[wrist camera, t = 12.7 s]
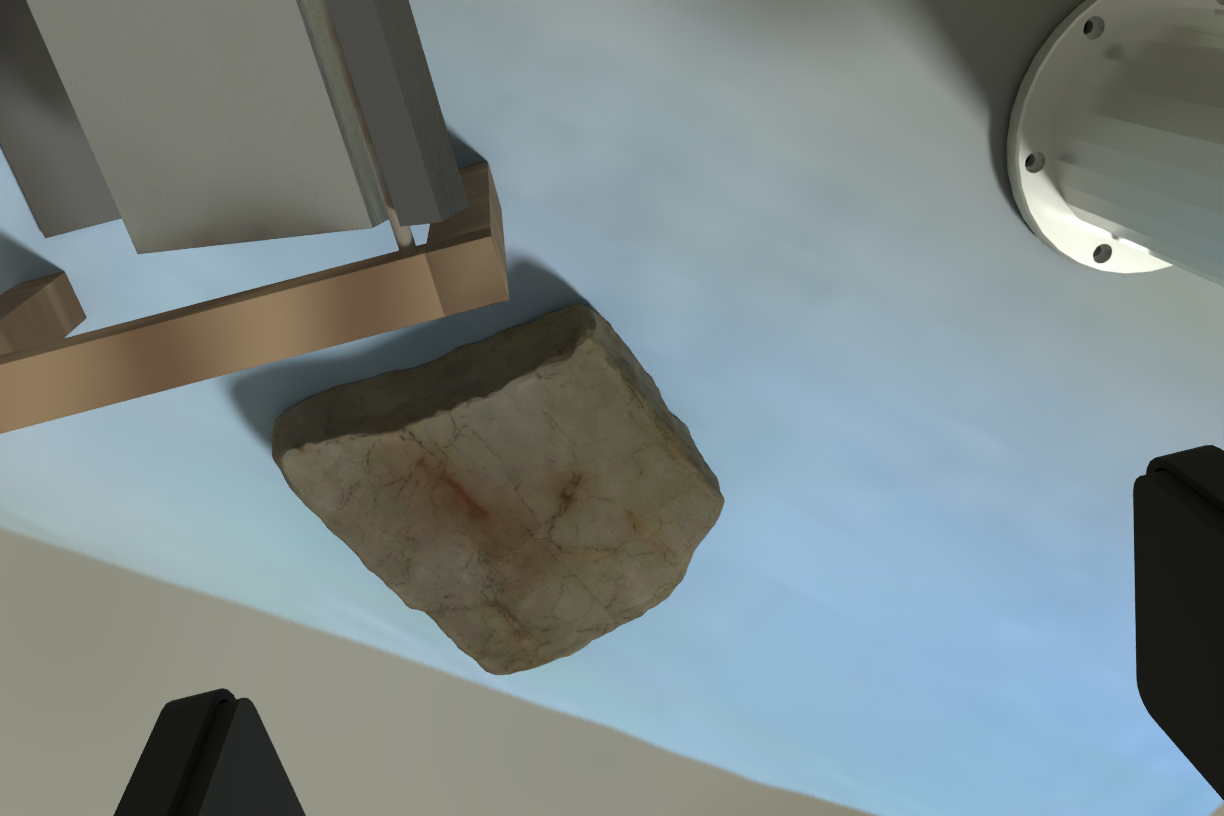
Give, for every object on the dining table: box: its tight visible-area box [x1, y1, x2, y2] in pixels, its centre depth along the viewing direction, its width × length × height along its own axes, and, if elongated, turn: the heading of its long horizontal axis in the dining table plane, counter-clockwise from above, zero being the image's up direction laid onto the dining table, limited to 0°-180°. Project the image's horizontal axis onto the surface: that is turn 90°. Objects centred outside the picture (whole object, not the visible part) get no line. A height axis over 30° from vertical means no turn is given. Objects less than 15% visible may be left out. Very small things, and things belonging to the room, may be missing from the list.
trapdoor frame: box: [0, 0, 509, 434], centre depth 32 cm, size 20×21×13 cm
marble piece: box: [272, 304, 725, 675], centre depth 46 cm, size 17×15×4 cm
